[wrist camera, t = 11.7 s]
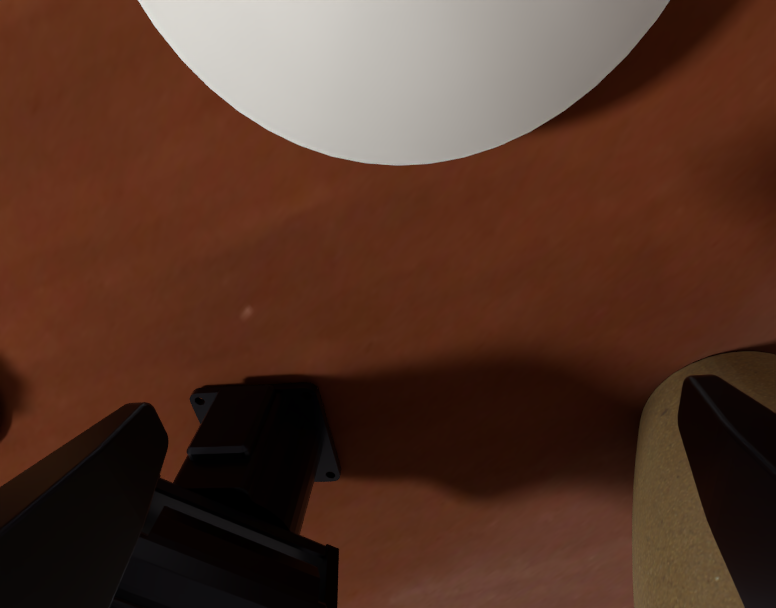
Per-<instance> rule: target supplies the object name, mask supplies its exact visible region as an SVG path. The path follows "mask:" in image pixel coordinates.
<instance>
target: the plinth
mask: <svg viewBox="0 0 776 608" xmlns="http://www.w3.org/2000/svg"><path fill="white" fill-rule="evenodd" d="M138 1H139V3H140V4H141V6H142V7H143V9H144V10H145V12H146V13H147V15H148V17H149V18H150V20H151V21H152V23H153V24H154V26H155V27H156V28H157V30H158V31H159V32H160V33H161V35H162V36H163V37H164V38H165V40H166V41H167V42H168V43H169V45H170V46H171V47H172V48H173V50H174V51H175V52H176V53H177V55H178V56H179V57H180V58H181V60H182V61H183V62H184V63H185V64H186V65H187V66H188V67H189V68H190V69H191V70H192V71H193V72H194V73H195V74H196V75H197V76H198V77H199V78H200V79H201V80H202V81H203V82H204V83H205V84H206V85H207V86H208V87H209V88H210V89H212V90H213V91H214V92H215V93H217V94H218V95H219V96H220V97H221V98H223V99H224V100H225V101H226V102H228V103H229V104H230V105H231V106H233V107H234V108H235V109H236V110H237V111H239V112H240V113H242V114H244V115H245V116H247V117H248V118H250V119H251V120H253V121H254V122H256V123H258V124H259V125H261V126H262V127H264V128H265V129H267V130H269V131H271V132H273V133H275V134H277V135H279V136H281V137H283V138H285V139H287V140H289V141H291V142H293V143H295V144H298V145H300V146H303V147H306V148H309V149H311V150H314V151H317V152H320V153H323V154H326V155H329V156H332V157H337V158H342V159H347V160H352V161H357V162H361V163H371V164H384V165H415V164H431V163H437V162H442V161H447V160H453V159H458V158H464V157H467V156H470V155H473V154H476V153H480V152H483V151H486V150H489V149H492V148H495V147H498V146H500V145H502V144H505V143H507V142H509V141H511V140H513V139H516V138H518V137H520V136H522V135H524V134H526V133H529V132H531V131H532V130H534V129H536V128H537V127H539V126H541V125H542V124H544V123H545V122H547V121H549V120H550V119H552V118H554V117H555V116H557V115H559V114H560V113H562V112H563V111H565V110H566V109H567V108H569V107H570V106H571V105H572V104H574V103H575V102H576V101H578V100H579V99H580V98H581V97H583V96H584V95H585V94H587V93H588V92H589V91H590V90H592V89H593V88H594V87H595V86H597V85H598V84H599V83H600V82H601V81H602V80H603V79H604V78H605V77H606V76H607V75H608V74H609V73H610V72H611V71H612V70H613V69H614V68H615V67H616V66H617V65H618V64H619V63H620V62H621V61H622V60H623V59H624V58H625V57H626V56H627V55H628V54H629V53H630V52H631V50H632V49H633V48H634V47H635V46H636V44H637V43H638V42H639V41H640V40H641V38H642V37H643V36H644V35H645V34H646V32H647V31H648V30H649V29H650V27H651V26H652V25H653V24H654V23H655V21H656V20H657V19H658V17H659V16H660V14H661V13H662V11H663V10H664V8H665V7H666V5H667V4H668V2H669V1H670V0H138Z"/></svg>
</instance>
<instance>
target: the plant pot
mask: <svg viewBox="0 0 776 608" xmlns="http://www.w3.org/2000/svg"><path fill="white" fill-rule="evenodd" d="M707 374H712V375H716V376H718V377H720V378H722V379H723V380H725V381H726V382H728V383H729V384H731V385H733V386H734V387H736V388H737V389H739V390H740V391H742V392H744V393H745V394H747V395H748V396H750V397H751V398H753V399H754V400H756V401H758V402H759V403H761V404H762V405H764V406H765V407H767V408H769V409H770V410H772V411H773V412H775V413H776V355H775V354H771V353H764V352H756V351H741V352H731V353H724V354H719V355H715V356H711V357H708V358H705V359H702V360H700V361H697V362H695V363H692V364H690V365H688V366H686V367H684V368H683V369H681V370H679V371H677V372H676V373H674V374H672V375H671V376H670V377H669V378H667V379H666V380H665V381H664V382H663V383H661V384H660V385H659V386H658V387H657V388H656V390H655V391H654V392H653V393H652V395H651V396H650V398H649V399H648V401H647V403H646V405H645V406H644V408H643V412H642V415H641V418H640V425H639V433H638V441H637V450H636V459H635V472H634V486H633V511H632V560H633V594H634V608H745V607H744V605H743V603H742V600H741V598H740V596H739V594H738V591H737V589H736V587H735V584H734V582H733V580H732V578H731V575H730V573H729V571H728V569H727V566H726V564H725V562H724V559H723V557H722V555H721V553H720V550H719V548H718V546H717V543H716V541H715V539H714V537H713V534H712V532H711V529H710V527H709V524H708V522H707V519H706V516H705V513H704V510H703V507H702V504H701V501H700V497H699V494H698V491H697V488H696V484H695V481H694V478H693V474H692V471H691V468H690V465H689V461H688V458H687V455H686V451H685V448H684V445H683V442H682V438H681V435H680V432H679V428H678V417H677V416H678V409H679V403H680V397H681V391H682V385H683V381H684V379H685V378H686V377H687V376H690V375H707Z"/></svg>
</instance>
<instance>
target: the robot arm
mask: <svg viewBox="0 0 776 608" xmlns="http://www.w3.org/2000/svg"><path fill="white" fill-rule="evenodd" d="M305 392H309V393H310V394H306V393H305ZM199 397H200V398H202V399H200V398H199ZM190 402H191V404H192V407H193V409H194V411H195V413H196V415H197V418H198V420H199V422H200V424H201V425H200V426H199V428H198V430H197V432H196V434H195V436H194V437H193V439H192V441H191V443H190V445H189V447H188V449H187V454H188V456H187V457H186V459H185V461H184V463H183V465H182V467H181V469H180V470H179V472H178V474H177V476H176V478H175V480H174V482H173V483H172V482H169V481H167V480H164V479H162V478H160V476H161V475H160V472H161V468H162V465H163V462H164V459H165V455H166V452H167V449H168V435H167V433H166V431H165V429H164V427H163V425H162V422H161V420H160V418H159V416H158V414H157V412H156V410H155V408H154V407H153V406H152V405H151V404H150V403H146V402H142V403H129V404H125V405H124V406H122V407H121V408H119V409H118V410H116V411H115V412H113V413H112V414H110V415H108V416H107V417H105V418H104V419H102V420H101V421H99V422H98V423H96V424H95V425H93V426H92V427H90V428H89V429H87V430H86V431H84V432H83V433H81V434H80V435H78V436H77V437H75V438H74V439H72V440H71V441H69V442H68V443H66V444H65V445H63V446H62V447H60V448H59V449H57V450H56V451H54V452H53V453H51V454H50V455H48V456H46V457H45V458H43V459H42V460H40V461H39V462H37V463H36V464H34V465H33V466H31V467H30V468H28V469H27V470H25V471H24V472H22V473H21V474H19V475H18V476H16V477H15V478H13V479H12V480H10V481H9V482H7V483H6V484H4V485H3V486H1V487H0V608H337V595H338V561H339V549H338V548H336V547H333V546H331V545H328V544H327V545H326V546H325V545H322V544H320V543H318V542H315V541H313V540H310V539H308V538H305V537H303V536H301V535H300V531H301V528H302V524H303V520H304V516H305V513H306V509H307V505H308V502H309V498H310V494H311V490H312V487H313V483H314V482H327V481H336V480H338V479H339V478H340V474H341V467H340V464H339V460H338V456H337V453H336V449H335V446H334V442H333V439H332V435H331V432H330V428H329V425H328V421H327V418H326V414H325V411H324V407H323V404H322V400H321V397H320V393H319V390H318V388H317V387H316V386H315V385H314V384H312V383H307V382H306V383H287V384H268V385H249V386H230V387H211V388H198V389H195V390H194V391H193V393H192V395H191V397H190ZM677 417H678V428H679V432H680V435H681V438H682V442H683V445H684V448H685V451H686V455H687V458H688V461H689V465H690V468H691V471H692V474H693V478H694V481H695V484H696V488H697V491H698V494H699V497H700V501H701V504H702V507H703V510H704V513H705V516H706V519H707V522H708V524H709V527H710V529H711V532H712V534H713V537H714V539H715V541H716V543H717V546H718V548H719V550H720V553H721V555H722V557H723V559H724V562H725V564H726V566H727V569H728V571H729V573H730V575H731V578H732V580H733V582H734V584H735V587H736V589H737V591H738V594H739V596H740V598H741V600H742V603H743V605H744V607H745V608H776V413H775V412H773V411H772V410H770V409H769V408H767V407H765V406H764V405H762V404H761V403H759V402H758V401H756V400H754V399H753V398H751V397H750V396H748V395H747V394H745V393H744V392H742V391H740V390H739V389H737V388H736V387H734V386H733V385H731V384H729V383H728V382H726V381H725V380H723V379H722V378H720V377H718V376H716V375H712V374H707V375H690V376H687V377H686V378H685V379H684V381H683V385H682V391H681V397H680V403H679V409H678V416H677Z"/></svg>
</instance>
